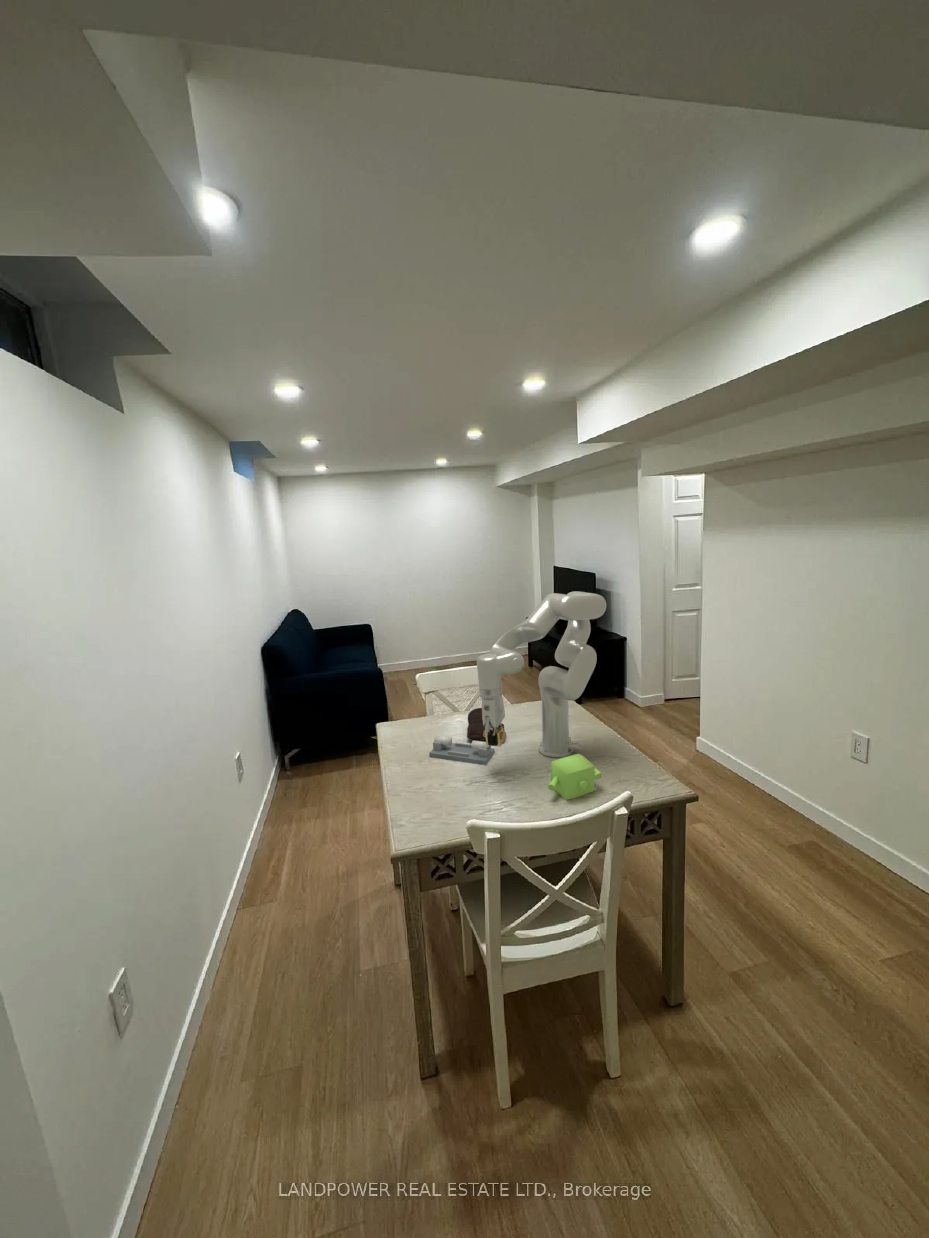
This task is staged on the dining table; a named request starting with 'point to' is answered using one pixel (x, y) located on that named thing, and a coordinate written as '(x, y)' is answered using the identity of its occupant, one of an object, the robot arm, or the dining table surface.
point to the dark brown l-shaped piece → (476, 725)
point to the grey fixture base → (461, 751)
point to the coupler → (500, 735)
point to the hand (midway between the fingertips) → (495, 741)
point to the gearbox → (573, 776)
